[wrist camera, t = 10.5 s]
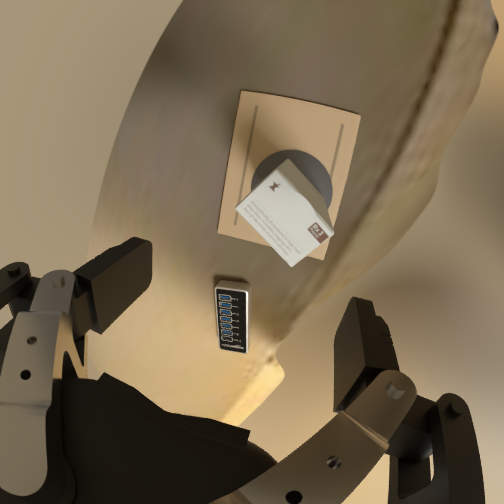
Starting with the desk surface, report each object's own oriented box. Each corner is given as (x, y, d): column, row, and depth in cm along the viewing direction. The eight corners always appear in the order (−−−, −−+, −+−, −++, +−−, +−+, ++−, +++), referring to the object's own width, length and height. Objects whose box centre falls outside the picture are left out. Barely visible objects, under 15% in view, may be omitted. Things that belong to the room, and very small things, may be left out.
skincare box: (260, 183, 30) (226, 209, 19) (290, 155, 28) (273, 164, 17) (298, 223, 30) (286, 272, 20) (328, 198, 29) (336, 234, 18)
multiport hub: (252, 282, 36) (248, 291, 34) (251, 344, 40) (247, 354, 38) (219, 278, 37) (214, 286, 35) (223, 339, 41) (218, 349, 39)
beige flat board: (242, 91, 27) (241, 90, 26) (360, 116, 25) (361, 115, 24) (219, 231, 34) (217, 233, 33) (323, 258, 32) (323, 260, 31)
